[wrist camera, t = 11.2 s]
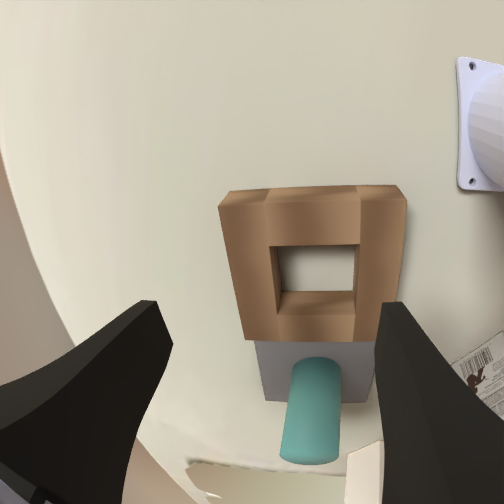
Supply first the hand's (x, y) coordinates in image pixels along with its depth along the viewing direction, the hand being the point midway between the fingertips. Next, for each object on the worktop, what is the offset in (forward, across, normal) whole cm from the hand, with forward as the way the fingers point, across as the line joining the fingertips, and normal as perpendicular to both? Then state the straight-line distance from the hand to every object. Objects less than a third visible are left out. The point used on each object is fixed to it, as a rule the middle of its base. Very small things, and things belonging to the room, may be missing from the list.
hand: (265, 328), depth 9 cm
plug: (+10, -1, +15) cm, 18 cm away
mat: (+10, -1, +15) cm, 18 cm away
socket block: (+10, -1, +4) cm, 11 cm away
